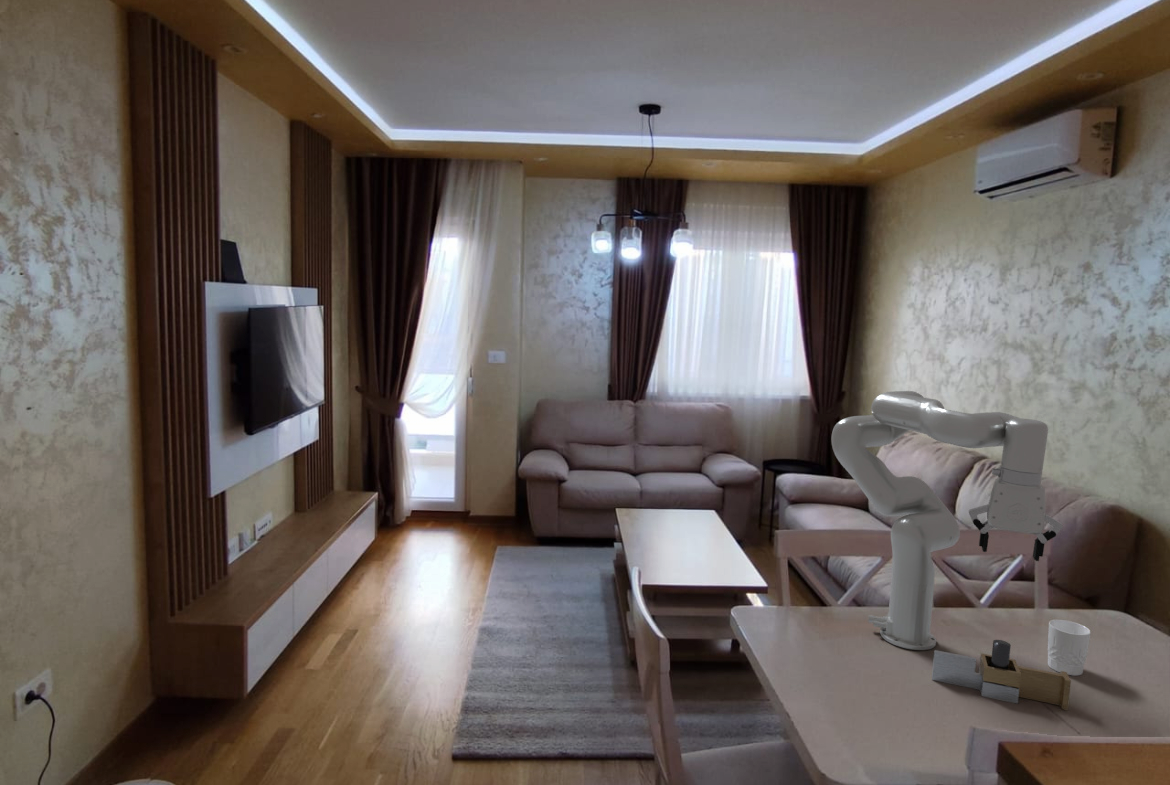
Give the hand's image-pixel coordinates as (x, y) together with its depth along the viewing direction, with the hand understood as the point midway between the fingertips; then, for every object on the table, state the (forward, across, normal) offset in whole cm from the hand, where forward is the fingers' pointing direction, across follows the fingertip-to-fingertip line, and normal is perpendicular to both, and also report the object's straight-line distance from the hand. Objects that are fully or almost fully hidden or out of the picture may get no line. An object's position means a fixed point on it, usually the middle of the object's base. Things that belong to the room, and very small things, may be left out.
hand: (1009, 554), depth 152 cm
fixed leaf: (+29, -4, -6) cm, 30 cm away
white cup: (+29, +16, +14) cm, 36 cm away
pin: (+29, 0, -6) cm, 29 cm away
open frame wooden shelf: (+29, +5, -5) cm, 30 cm away
